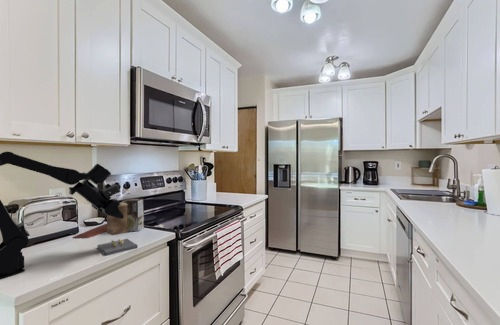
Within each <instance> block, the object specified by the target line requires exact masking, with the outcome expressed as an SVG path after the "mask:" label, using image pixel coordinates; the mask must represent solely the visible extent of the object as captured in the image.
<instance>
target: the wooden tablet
mask: <svg viewBox="0 0 500 325" xmlns="http://www.w3.org/2000/svg"><path fill="white" fill-rule="evenodd" d="M105 232H107V223H104V224H102V225H99V226H96V227H94V228H91V229H89V230H87V231H84V232H82V233H79V234H78V235H75V236H73V237H72V239H76V240H77V239H82V240H83V239H90V238H94V237H96V236H98V235H100V234H103V233H105Z"/></svg>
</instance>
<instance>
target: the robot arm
mask: <svg viewBox="0 0 500 325" xmlns="http://www.w3.org/2000/svg"><path fill="white" fill-rule="evenodd" d="M4 165H11V166H15V167H18V168H22V169H26V170H29V171H33V172H35V173H40V174H42V175H46V176H48V177H50V178H53V179H54V180H57V181H59V182H61V183H64V184H66V185H68V186H69V185H70V186H69V187H68V189H69V190H68V191H69V192H68V194H69V195H72V196H73V195H75V193H77V194H78V195H79V196H81V197H82V198H84V199H85V201H87V202H88V203H90V205H91V207H92V208H93V209H95V210H97V211H98V212H101V213H104V215H106V216H107V215H109V216H113V217H117V218H121V219H123V218H124V216H123V214H122V213H121V212H120V210H119V209H118V206H119V205H120V201H119V200H118V199H115V198H113V199H112V196H115V195H116V194H119V193H121V190H120V187H119V185H118V184H117V183H116V184H109V183H106V184H104V188H103V189H100V188H98V187H96V186H97V185H98V184H99V185H102V184H103V183H104V182H106V180H107V179H108V178H109V177H110V176H111V175H112V173H111V172H110V171H109V170H108V168H106V167H104V166H102V165H101V164H100V163H96V164H94V166H93V167H92V168H91V169H90V170H89V171H87V172H84V171H83V172H80V171H79V170H76V169H73V168H68V167H67V168H66V167H60V166H55V165H52V164H51V165H50V164H47V163H46V162H41V161H38V160H35V159H31V158H29V157H25V156H22V155H19V154H16V153H15V152H12V151H3V152H1V153H0V167H1V166H4ZM0 234H1V237H2V240H3V241H1V242H0V279H1V280H2V279H5V278H8V277H11V276H14V275H16V274H20V273H23V272H25V271H26V269H25V256H24V255H23V251H22V250H23V249H25V248H26V247H27V246H28V244H29V241H30V240H29V239H30V238H29V237H30V236H31V235H30V233H29V231H28V230H27V229H26V227H25V225H24V223H23V222H22V221H21V222H20V223H16V222H15V221H14V220H13V218H12V216H11V215H10V213H9V211H8V210H7V208H6V206H5V205H4V203H3V202H2V200H1V199H0Z"/></svg>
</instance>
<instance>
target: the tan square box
mask: <svg viewBox="0 0 500 325" xmlns="http://www.w3.org/2000/svg"><path fill="white" fill-rule="evenodd" d="M119 202H120V201H119ZM127 206H128V204H126V203H123V202H122V201H121V202H120V205H119V206H118V209H119V210H120V212H121V213H122V214H123V216H124V218H123V219H121V218H117V217H113V216H109V215H106V224H107V231H106V233H107V234H109V235H110V236H115V235H116V236H117V235H121V234H126V233H128V231H127Z"/></svg>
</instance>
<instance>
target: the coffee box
mask: <svg viewBox="0 0 500 325" xmlns="http://www.w3.org/2000/svg"><path fill="white" fill-rule="evenodd" d="M144 200H145V199H144V198H127V199H123V200H121V202H123V203H126V204H128V206H127V232H138V231H141V230H143V229H144V228H145V213H144V212H145V211H144V210H145V202H144Z"/></svg>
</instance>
